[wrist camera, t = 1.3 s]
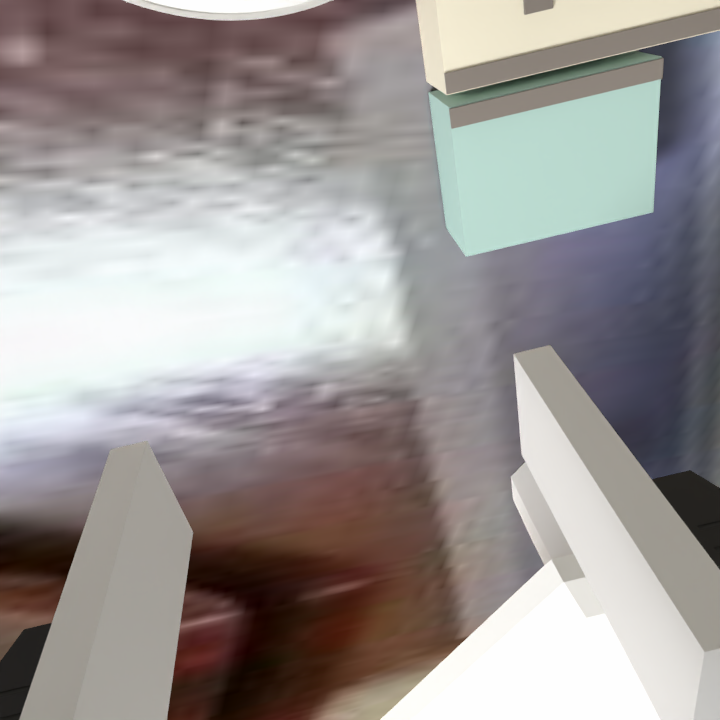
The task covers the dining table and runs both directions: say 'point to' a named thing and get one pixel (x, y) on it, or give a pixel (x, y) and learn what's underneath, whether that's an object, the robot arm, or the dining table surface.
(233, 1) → the jar
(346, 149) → the dining table surface
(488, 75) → the cream slotted block
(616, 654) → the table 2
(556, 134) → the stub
